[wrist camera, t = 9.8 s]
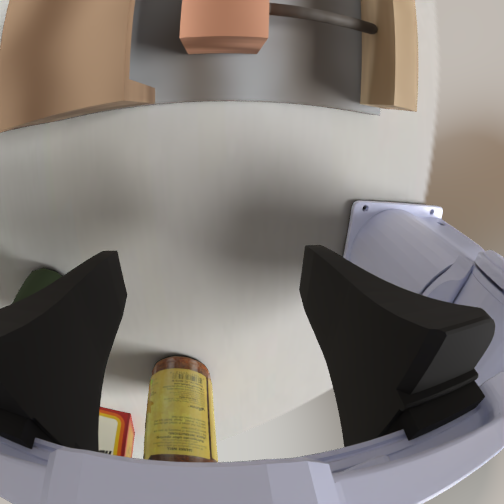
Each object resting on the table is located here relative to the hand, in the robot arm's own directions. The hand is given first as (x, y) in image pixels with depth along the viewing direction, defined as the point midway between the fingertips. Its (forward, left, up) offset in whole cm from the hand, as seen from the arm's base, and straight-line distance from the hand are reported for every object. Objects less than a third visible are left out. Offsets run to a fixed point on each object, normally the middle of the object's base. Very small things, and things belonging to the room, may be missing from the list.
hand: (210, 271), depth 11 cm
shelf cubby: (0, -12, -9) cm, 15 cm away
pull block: (-5, -12, -8) cm, 15 cm away
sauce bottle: (+4, +18, -10) cm, 21 cm away
